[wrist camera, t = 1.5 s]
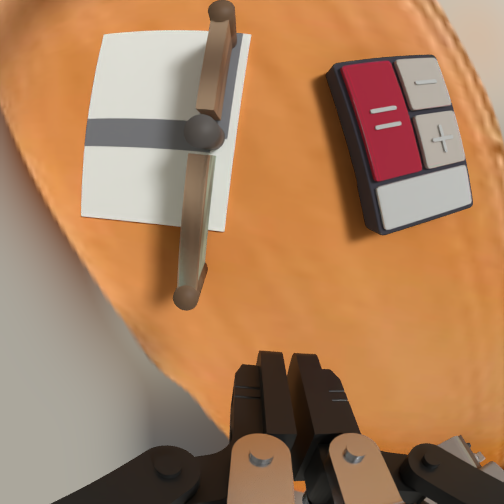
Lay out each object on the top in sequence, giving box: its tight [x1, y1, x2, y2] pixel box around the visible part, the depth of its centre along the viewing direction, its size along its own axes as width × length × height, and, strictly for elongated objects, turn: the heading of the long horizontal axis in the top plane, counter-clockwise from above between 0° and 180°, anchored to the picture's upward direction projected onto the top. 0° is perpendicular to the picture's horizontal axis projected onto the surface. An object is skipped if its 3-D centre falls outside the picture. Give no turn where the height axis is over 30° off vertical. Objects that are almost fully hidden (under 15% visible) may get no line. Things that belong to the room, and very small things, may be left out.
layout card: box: [81, 30, 251, 232], centre depth 25 cm, size 18×14×1 cm
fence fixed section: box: [184, 0, 237, 150], centre depth 21 cm, size 11×2×7 cm, turn 172°
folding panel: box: [173, 153, 216, 310], centre depth 24 cm, size 11×2×6 cm, turn 173°
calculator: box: [326, 55, 473, 235], centre depth 24 cm, size 11×4×15 cm
